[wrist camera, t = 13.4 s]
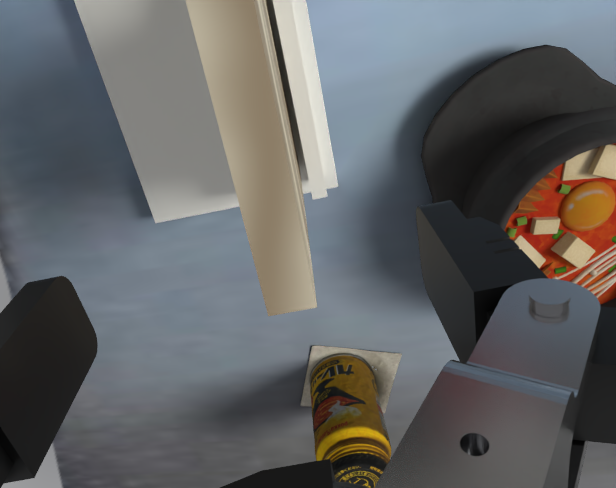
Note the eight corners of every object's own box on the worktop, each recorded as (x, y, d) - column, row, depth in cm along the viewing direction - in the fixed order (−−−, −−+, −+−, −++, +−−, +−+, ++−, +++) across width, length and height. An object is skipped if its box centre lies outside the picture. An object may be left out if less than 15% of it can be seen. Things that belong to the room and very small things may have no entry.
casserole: (703, 238, 43) (794, 290, 35) (512, 351, 47) (556, 419, 40) (583, -22, 33) (673, -26, 26) (357, 152, 38) (377, 192, 30)
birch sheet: (263, -16, 31) (248, -25, 15) (299, 167, 36) (317, 307, 20) (231, -10, 31) (182, -12, 15) (272, 172, 36) (268, 316, 20)
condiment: (311, 344, 45) (322, 452, 35) (401, 352, 46) (438, 460, 36) (300, 404, 49) (306, 520, 38) (384, 410, 50) (413, 525, 39)
